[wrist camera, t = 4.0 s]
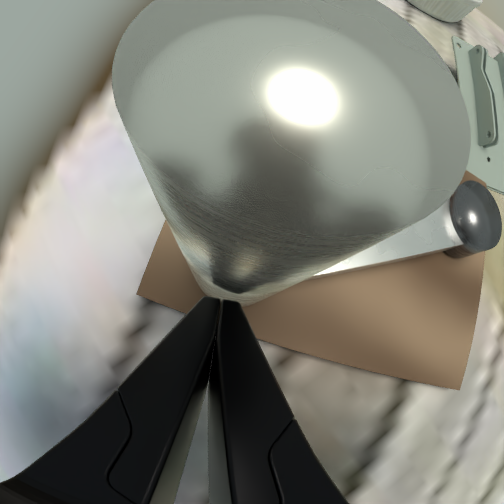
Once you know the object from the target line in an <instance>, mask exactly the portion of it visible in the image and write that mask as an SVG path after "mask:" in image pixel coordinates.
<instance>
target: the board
mask: <svg viewBox="0 0 504 504" xmlns="http://www.w3.org/2000/svg"><path fill="white" fill-rule="evenodd" d="M469 180H473V181H476V182H479V183H480V184H482V185H483V186H484V187H485V188H486V189H487V186H486V183H485V182H484V181H482V180H481V179H479V178H478V177H476V176H475V175H473V174H472V173H470V172H469V171H467V170H465V173H464V176H463V178H462V180H461V182H460V184H462V183H464V182H465V181H469ZM460 184H459V185H460ZM459 185H458V186H459ZM484 258H485V251H483V252H480V253H477V254H474V255H471V256H468V257H464V258H455V257H453V256H451V255H449V254H448V253H447V252H445V251H442V252H438V253H434V254H429V255H425V256H421V257H416V258H412V259H407V260H403V261H398V262H394V263H389V264H384V265H380V266H375V267H370V268H366V269H361V270H356V271H351V272H346V273H341V274H336V275H331V276H326V277H321V278H316V279H311V280H305V281H301V282H299V283H297V284H295V285H293V286H291V287H289V288H287V289H285V290H283V291H280V292H278V293H276V294H274V295H272V296H270V297H268V298H266V299H263V300H261V301H259V302H257V303H255V304H252V305H249V306H245V307H242V308H243V311H244V313H245V315H246V317H247V319H248V321H249V324H250V326H251V328H252V330H253V332H254V334H255V336H256V338H257V339H260V340H263V341H266V342H269V343H273V344H276V345H279V346H282V347H285V348H289V349H292V350H295V351H299V352H302V353H305V354H309V355H312V356H316V357H319V358H323V359H326V360H330V361H334V362H337V363H341V364H345V365H349V366H352V367H356V368H360V369H364V370H368V371H372V372H376V373H380V374H385V375H389V376H393V377H397V378H402V379H406V380H411V381H415V382H420V383H425V384H430V385H435V386H440V387H445V388H450V389H456V390H460V387H461V384H462V380H463V377H464V373H465V369H466V365H467V361H468V357H469V353H470V349H471V344H472V340H473V335H474V330H475V325H476V319H477V313H478V307H479V301H480V294H481V286H482V278H483V269H484ZM137 295H139V296H142V297H144V298H147V299H149V300H152V301H154V302H157V303H159V304H162V305H164V306H167V307H170V308H172V309H175V310H177V311H180V312H183V313H185V314H187V313H188V312H189V311H190V310H191V309H192V308H193V307H194V305H195V304H196V303H197V302H198V301H199V300H200V299H201V298H202V297H203V296H207V295H206V294H205V293H204V292H203V291H202V290H201V288H200V287H199V285H198V283H197V281H196V279H195V278H194V276H193V274H192V272H191V270H190V268H189V266H188V264H187V262H186V260H185V258H184V256H183V254H182V252H181V250H180V248H179V246H178V243H177V241H176V239H175V237H174V235H173V233H172V231H171V229H170V227H169V225H168V223H167V221H166V220H165V223H164V225H163V227H162V230H161V232H160V235H159V237H158V239H157V242H156V244H155V247H154V249H153V252H152V254H151V257H150V259H149V262H148V265H147V267H146V270H145V272H144V275H143V278H142V280H141V283H140V286H139V288H138V291H137ZM220 306H221V304H220ZM219 312H220V311H219ZM218 318H219V317H218ZM217 324H218V323H217Z"/></svg>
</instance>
